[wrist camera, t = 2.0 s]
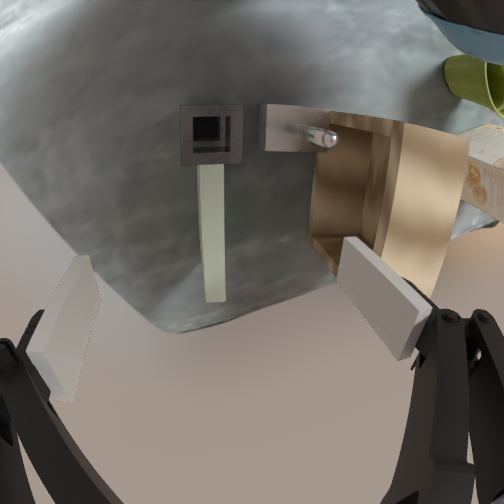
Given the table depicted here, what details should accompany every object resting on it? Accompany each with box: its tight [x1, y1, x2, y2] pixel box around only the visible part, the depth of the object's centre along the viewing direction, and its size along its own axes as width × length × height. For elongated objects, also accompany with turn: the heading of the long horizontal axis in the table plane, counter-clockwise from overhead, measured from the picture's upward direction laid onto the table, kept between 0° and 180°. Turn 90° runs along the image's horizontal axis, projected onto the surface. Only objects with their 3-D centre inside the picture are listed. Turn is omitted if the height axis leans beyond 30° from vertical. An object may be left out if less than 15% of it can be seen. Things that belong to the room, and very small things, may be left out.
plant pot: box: [444, 54, 504, 118], centre depth 24 cm, size 9×9×9 cm
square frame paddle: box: [180, 104, 244, 303], centre depth 25 cm, size 15×4×10 cm, turn 179°
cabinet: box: [258, 104, 470, 299], centre depth 25 cm, size 15×14×14 cm
